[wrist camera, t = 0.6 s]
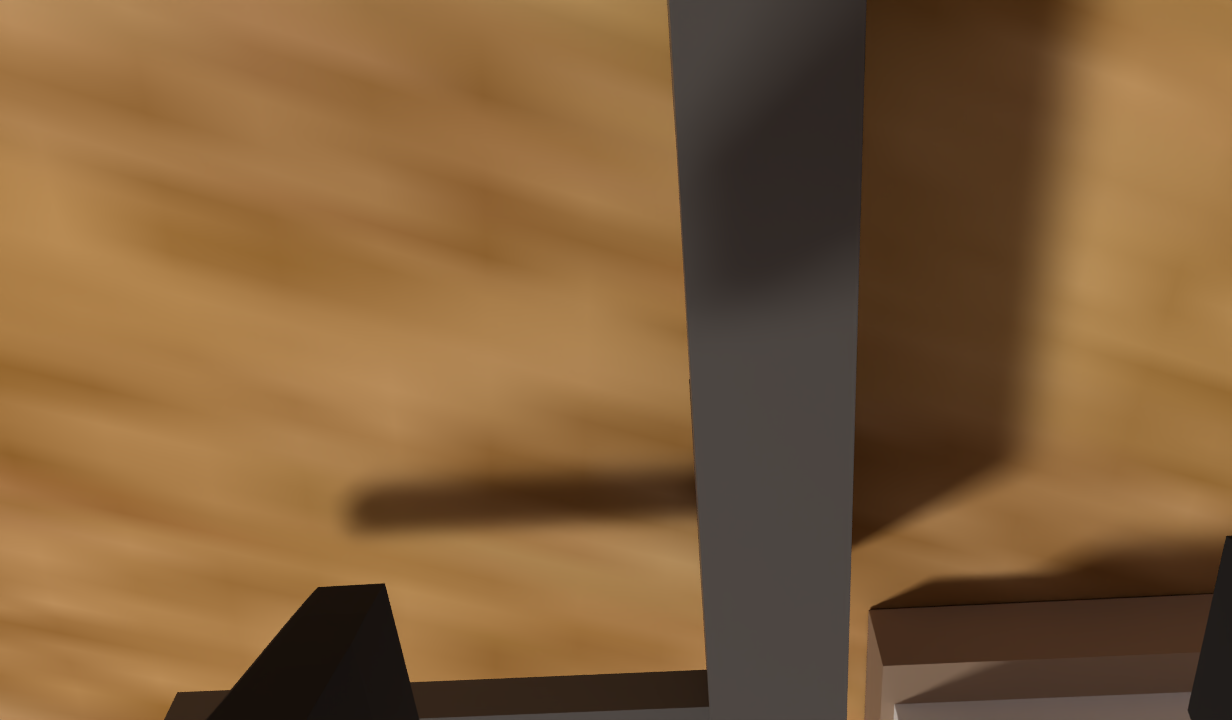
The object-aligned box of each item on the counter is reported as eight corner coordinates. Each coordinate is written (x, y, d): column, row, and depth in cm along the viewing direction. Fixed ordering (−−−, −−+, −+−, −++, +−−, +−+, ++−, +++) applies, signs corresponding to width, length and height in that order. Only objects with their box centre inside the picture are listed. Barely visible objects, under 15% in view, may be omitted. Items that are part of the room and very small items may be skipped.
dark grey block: (805, -253, 15) (872, -244, 10) (804, 573, 22) (844, 788, 17) (-4, -179, 15) (-260, -139, 11) (247, 600, 22) (149, 813, 18)
